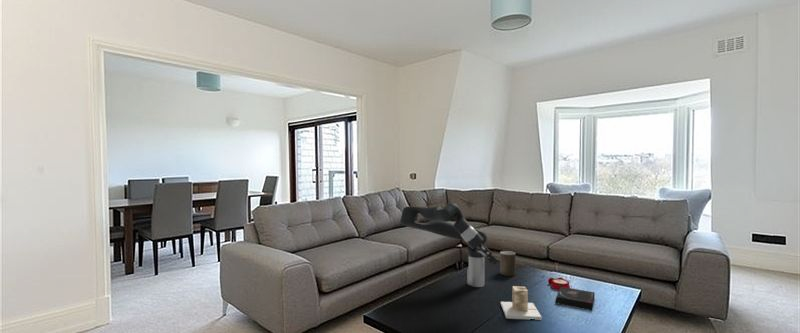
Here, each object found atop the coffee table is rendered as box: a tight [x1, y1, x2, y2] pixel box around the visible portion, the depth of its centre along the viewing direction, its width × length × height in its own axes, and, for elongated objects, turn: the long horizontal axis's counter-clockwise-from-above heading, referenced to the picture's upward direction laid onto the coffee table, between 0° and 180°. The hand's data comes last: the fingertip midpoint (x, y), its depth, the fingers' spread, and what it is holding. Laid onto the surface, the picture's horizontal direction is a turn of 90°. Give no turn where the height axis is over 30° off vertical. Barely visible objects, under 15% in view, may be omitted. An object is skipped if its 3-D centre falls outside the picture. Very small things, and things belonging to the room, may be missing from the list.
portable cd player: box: [554, 287, 596, 311], centre depth 191 cm, size 16×17×4 cm
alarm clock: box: [547, 277, 573, 291], centre depth 212 cm, size 10×6×15 cm
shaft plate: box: [500, 301, 543, 321], centre depth 178 cm, size 16×16×8 cm
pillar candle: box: [499, 250, 517, 277], centre depth 235 cm, size 10×10×15 cm
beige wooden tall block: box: [511, 285, 529, 312], centre depth 178 cm, size 6×6×10 cm
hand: (494, 262), depth 179 cm, fingers open, 8 cm apart
